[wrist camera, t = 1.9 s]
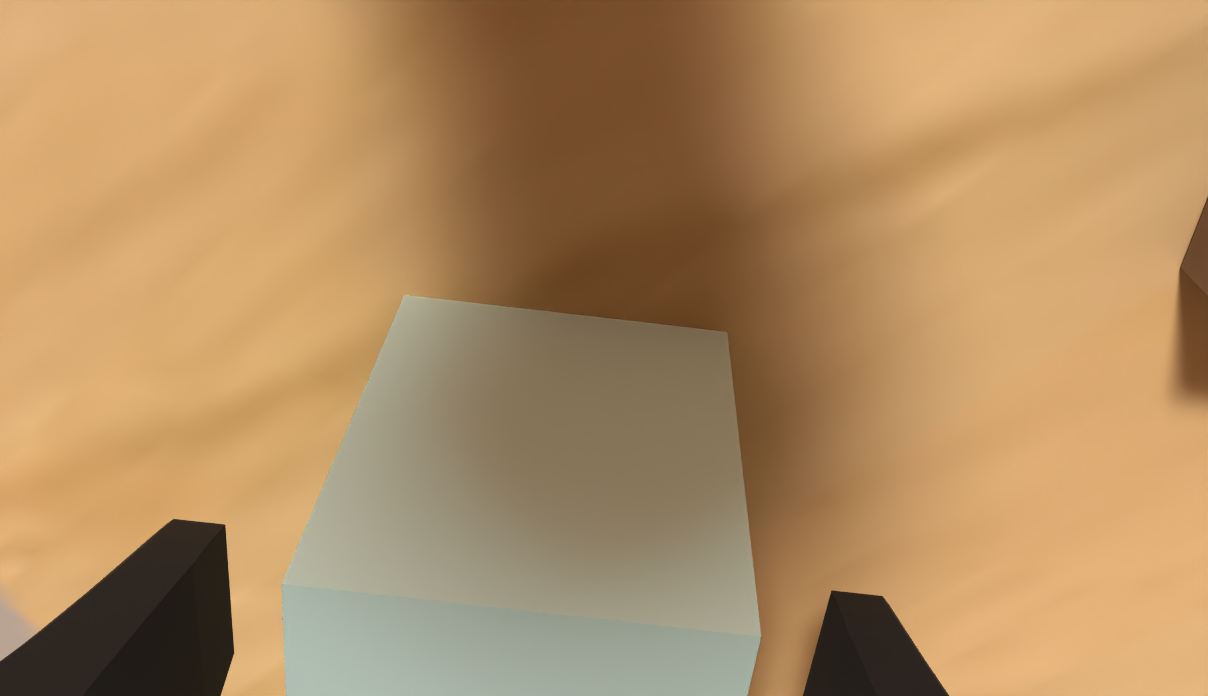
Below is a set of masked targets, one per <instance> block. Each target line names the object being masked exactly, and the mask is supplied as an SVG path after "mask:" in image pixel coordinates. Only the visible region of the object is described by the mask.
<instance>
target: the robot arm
mask: <svg viewBox="0 0 1208 696" xmlns="http://www.w3.org/2000/svg"><path fill="white" fill-rule="evenodd" d="M233 655H234V644H233V630H232V616H231V601H230V587H229V573H228V558H227V544H226V530H225V525H223V524H214V523H205V522H196V521H187V520H177V519H173V520H172V521H170V522H169V523H168V524H166V525H165V526H164V527H163V528H161V529H160V530H159V531H158V532H157V533H155V534H154V535H153V536H152V537H151V538H150V539H148V540H147V541H146V542H145V543H144V544H143V545H141V546H140V547H139V548H138V549H137V550H136V551H135V552H133V553H132V554H131V555H130V556H129V557H128V558H127V559H125V560H124V561H123V562H122V563H121V564H120V565H118V566H117V567H116V568H115V569H114V570H113V571H112V572H110V573H109V574H108V575H107V576H106V577H104V578H103V579H102V580H101V581H100V582H99V583H97V584H96V585H95V586H94V587H93V588H92V589H90V590H89V591H88V592H87V593H86V594H85V595H83V596H82V597H81V598H80V599H78V600H77V601H76V602H75V603H74V604H72V605H71V606H70V607H69V608H67V609H66V610H65V611H64V612H63V613H61V614H60V615H59V616H58V617H56V618H55V619H54V620H53V621H52V622H50V623H49V624H48V625H47V626H45V627H44V628H43V629H42V630H41V631H39V632H38V633H37V634H36V635H34V636H33V637H32V638H31V639H29V640H28V641H27V642H25V643H24V644H23V645H22V646H20V647H19V648H18V649H16V650H15V651H14V652H12V653H11V654H10V655H8V656H7V657H5V658H4V659H3V660H2V661H0V696H221V692H222V689H223V686H224V683H225V680H226V677H227V674H228V670H229V667H230V664H231V661H232V658H233ZM803 696H949V695H948V693H947V692H946V690H945V689H944V688H943V686H942V685H941V683H940V682H939V680H938V679H937V677H936V676H935V674H934V673H933V671H932V670H931V668H930V667H929V665H928V664H927V662H926V661H925V659H924V658H923V656H922V655H921V653H920V652H919V650H918V649H917V647H916V646H915V644H914V643H913V641H912V639H911V638H910V636H909V635H908V633H907V632H906V630H905V629H904V627H903V626H902V624H901V622H900V621H899V619H898V618H897V616H896V615H895V613H894V612H893V610H892V609H891V607H890V606H889V604H888V603H887V602H886V600H885V599H884V598H883V596H876V595H867V594H857V593H848V592H839V591H831V595H830V598H829V602H828V606H827V609H826V613H825V617H824V621H823V624H822V628H821V632H820V635H819V639H818V643H817V646H816V650H815V654H814V657H813V661H812V665H811V668H810V672H809V676H808V679H807V683H806V687H805V690H804V694H803Z"/></svg>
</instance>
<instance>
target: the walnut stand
mask: <svg viewBox="0 0 1208 696" xmlns="http://www.w3.org/2000/svg"><path fill="white" fill-rule="evenodd" d="M1181 268H1182V269H1183V271H1184V272H1185V273H1186V274H1187V275H1188V276H1189V277H1190V278H1191V279H1192V280H1193V281H1194V282H1195V284H1196V285H1197V286H1198V287H1199V288H1200V289H1201V290H1202V291H1203V292H1204V293H1205V294H1206V295H1207V297H1208V200H1207V203H1206V205H1205V208H1204V210H1203V213H1202V215H1201V218H1200V220H1199V223H1198V225H1197V228H1196V231H1195V233H1194V236H1193V238H1192V241H1191V243H1190V246H1189V248H1188V251H1187V253H1186V256H1185V258H1184V261H1183V263H1182V266H1181Z"/></svg>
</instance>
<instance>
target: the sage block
mask: <svg viewBox="0 0 1208 696" xmlns="http://www.w3.org/2000/svg"><path fill="white" fill-rule="evenodd" d="M282 604H283V630H284V656H285V681H286V696H747V695H748V691H749V687H750V682H751V678H752V674H753V670H754V665H755V661H756V657H757V653H758V649H759V644H760V640H761V629H760V620H759V611H758V602H757V593H756V584H755V575H754V566H753V557H752V548H751V539H750V531H749V522H748V513H747V504H746V495H745V486H744V477H743V468H742V459H741V450H740V441H739V432H738V423H737V414H736V405H735V396H734V387H733V378H732V369H731V360H730V351H729V342H728V333H727V332H725V331H716V330H708V329H699V328H690V327H682V326H673V325H664V324H656V323H647V322H638V321H629V320H621V319H612V318H603V317H595V316H586V315H577V314H569V313H560V312H551V311H542V310H534V309H525V308H516V307H508V306H499V305H490V304H482V303H473V302H464V301H455V300H447V299H438V298H429V297H421V296H412V295H404V297H403V299H402V301H401V304H400V306H399V309H398V311H397V313H396V316H395V318H394V320H393V323H392V325H391V327H390V330H389V332H388V334H387V337H386V339H385V342H384V344H383V346H382V349H381V351H380V353H379V356H378V358H377V360H376V363H375V365H374V367H373V370H372V372H371V375H370V377H369V379H368V382H367V384H366V386H365V389H364V391H363V393H362V396H361V398H360V400H359V403H358V405H357V407H356V410H355V412H354V415H353V417H352V419H351V422H350V424H349V426H348V429H347V431H346V433H345V436H344V438H343V440H342V443H341V445H340V448H339V450H338V452H337V455H336V457H335V459H334V462H333V464H332V466H331V469H330V471H329V473H328V476H327V478H326V481H325V483H324V485H323V488H322V490H321V492H320V495H319V497H318V499H317V502H316V504H315V506H314V509H313V511H312V514H311V516H310V518H309V521H308V523H307V525H306V528H305V530H304V532H303V535H302V537H301V539H300V542H299V544H298V547H297V549H296V551H295V554H294V556H293V558H292V561H291V563H290V565H289V568H288V570H287V572H286V575H285V577H284V579H283V582H282Z"/></svg>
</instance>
